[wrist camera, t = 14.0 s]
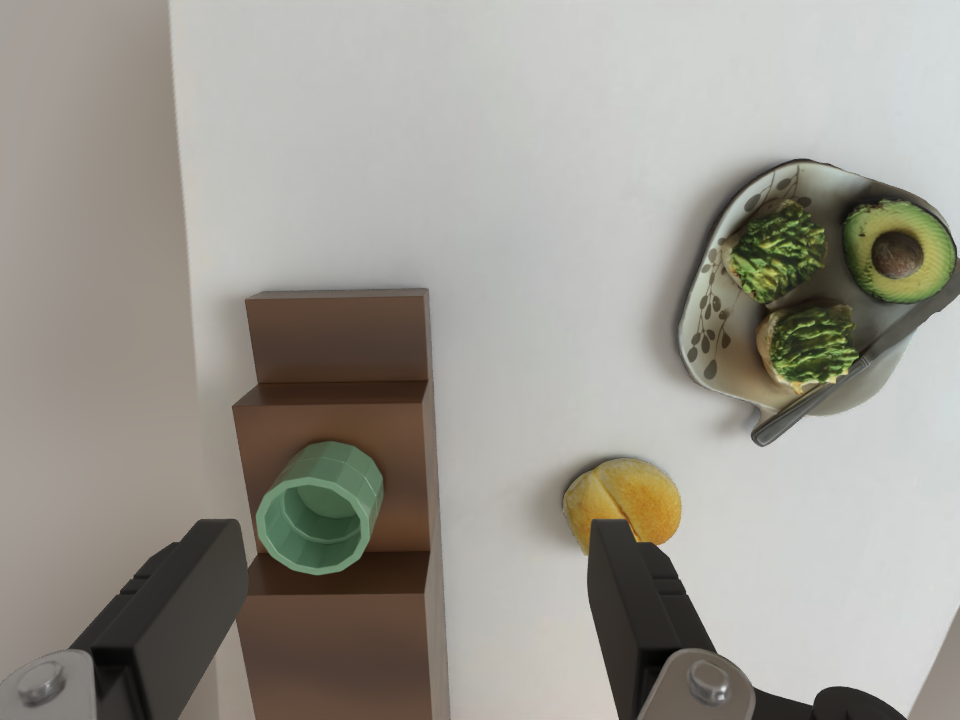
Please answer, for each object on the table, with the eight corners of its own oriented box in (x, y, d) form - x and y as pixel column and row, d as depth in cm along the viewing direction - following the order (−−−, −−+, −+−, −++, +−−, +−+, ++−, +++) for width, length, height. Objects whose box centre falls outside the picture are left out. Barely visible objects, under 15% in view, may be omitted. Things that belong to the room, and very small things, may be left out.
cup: (273, 501, 35) (240, 549, 31) (309, 421, 34) (279, 459, 29) (361, 538, 36) (343, 591, 31) (401, 462, 34) (387, 505, 30)
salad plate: (839, 464, 42) (881, 496, 38) (630, 399, 40) (648, 424, 36) (982, 223, 36) (1050, 228, 32) (744, 137, 35) (782, 130, 30)
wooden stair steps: (262, 291, 38) (177, 329, 28) (428, 288, 38) (407, 325, 28) (344, 858, 57) (313, 1009, 46) (457, 857, 56) (451, 1009, 46)
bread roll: (689, 515, 44) (708, 547, 40) (589, 558, 45) (599, 592, 41) (650, 434, 41) (667, 459, 38) (546, 482, 43) (552, 510, 39)
